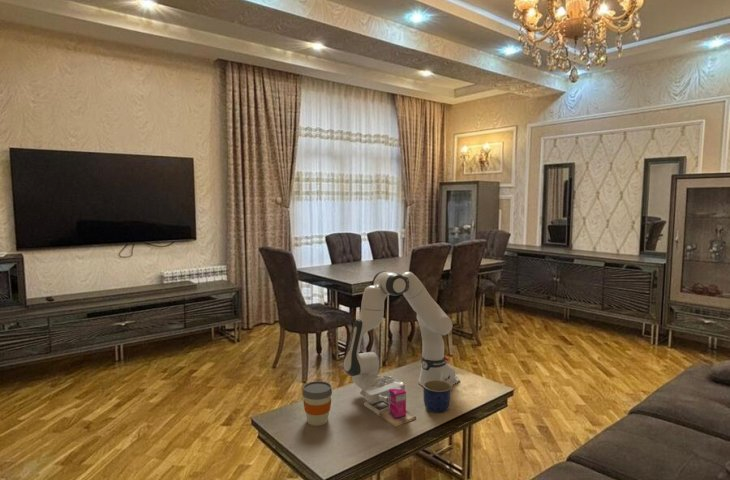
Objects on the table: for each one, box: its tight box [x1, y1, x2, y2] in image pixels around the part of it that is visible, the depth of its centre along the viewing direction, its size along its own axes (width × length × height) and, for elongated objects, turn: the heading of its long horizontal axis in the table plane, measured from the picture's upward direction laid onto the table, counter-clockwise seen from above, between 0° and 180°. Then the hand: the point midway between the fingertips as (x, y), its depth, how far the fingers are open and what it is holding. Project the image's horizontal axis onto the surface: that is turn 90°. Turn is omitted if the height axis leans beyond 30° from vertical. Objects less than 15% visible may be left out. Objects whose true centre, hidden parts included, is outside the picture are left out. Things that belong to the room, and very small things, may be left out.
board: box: [378, 410, 417, 427], centre depth 195 cm, size 12×11×1 cm
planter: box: [422, 380, 452, 414], centre depth 203 cm, size 12×12×11 cm
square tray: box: [363, 399, 389, 416], centre depth 205 cm, size 11×11×2 cm
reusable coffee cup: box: [302, 380, 333, 427], centre depth 191 cm, size 13×13×15 cm
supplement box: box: [388, 387, 407, 419], centre depth 194 cm, size 6×6×12 cm
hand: (395, 397), depth 195 cm, fingers open, 8 cm apart
